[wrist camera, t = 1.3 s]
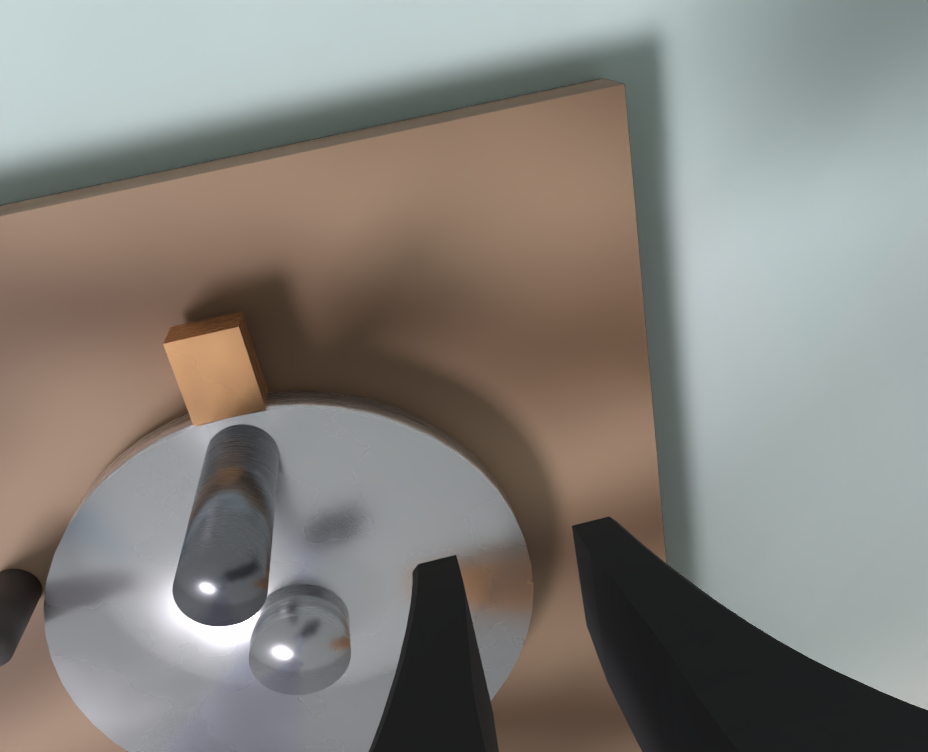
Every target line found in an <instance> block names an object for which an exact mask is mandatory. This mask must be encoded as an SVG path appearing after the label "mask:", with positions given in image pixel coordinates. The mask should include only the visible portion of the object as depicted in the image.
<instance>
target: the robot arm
mask: <svg viewBox="0 0 928 752" xmlns="http://www.w3.org/2000/svg"><path fill="white" fill-rule="evenodd" d="M572 531H573V538H574V545H575V552H576V558H577V565H578V572H579V579H580V585H581V592H582V599H583V606H584V612H585V619H586V625H587V628H588V631H589V633H590V636H591V639H592V642H593V644H594V647H595V650H596V653H597V656H598V658H599V661H600V664H601V666H602V669H603V672H604V674H605V677H606V680H607V682H608V684H609V686H610V688H611V691H612V693H613V695H614V697H615V699H616V701H617V703H618V705H619V707H620V709H621V711H622V713H623V715H624V717H625V719H626V721H627V723H628V725H629V727H630V729H631V731H632V733H633V735H634V737H635V739H636V741H637V743H638V745H639V747H640V748H641V750H642V752H928V710H925V709H922V708H920V707H917V706H914V705H912V704H909V703H907V702H904V701H902V700H899V699H897V698H895V697H892V696H890V695H887V694H885V693H883V692H880V691H878V690H876V689H874V688H872V687H869V686H867V685H865V684H863V683H861V682H858V681H856V680H854V679H852V678H850V677H847V676H845V675H843V674H841V673H839V672H836V671H834V670H832V669H830V668H828V667H826V666H824V665H822V664H820V663H818V662H816V661H814V660H812V659H810V658H808V657H807V656H805V655H803V654H801V653H799V652H797V651H796V650H794V649H792V648H790V647H788V646H787V645H785V644H783V643H781V642H780V641H778V640H776V639H775V638H773V637H771V636H769V635H768V634H766V633H765V632H763V631H761V630H760V629H758V628H756V627H755V626H753V625H752V624H750V623H749V622H747V621H746V620H744V619H743V618H741V617H739V616H738V615H736V614H735V613H733V612H732V611H730V610H729V609H727V608H726V607H724V606H723V605H722V604H720V603H719V602H717V601H716V600H714V599H713V598H712V597H710V596H709V595H707V594H706V593H705V592H703V591H702V590H701V589H699V588H698V587H697V586H695V585H694V584H692V583H691V582H690V581H688V580H687V579H686V578H684V577H683V576H682V575H680V574H679V573H678V572H676V571H675V570H674V569H673V568H671V567H670V566H669V565H668V564H666V563H665V562H664V561H663V560H661V559H660V558H659V557H658V556H657V555H655V554H654V553H653V552H652V551H650V550H649V549H648V548H647V547H646V546H644V545H643V544H642V543H641V542H640V541H639V540H637V539H636V538H635V537H634V536H633V535H632V534H631V533H629V532H628V531H627V530H626V529H625V528H624V527H623V526H621V525H620V524H619V523H618V522H617V521H616V520H614V519H612V518H611V517H605V518H601V519H597V520H593V521H589V522H585V523H581V524H577V525H573V526H572ZM412 578H413V582H412V595H411V603H410V610H409V616H408V621H407V627H406V632H405V636H404V640H403V644H402V648H401V653H400V657H399V661H398V665H397V669H396V673H395V676H394V679H393V682H392V686H391V689H390V692H389V695H388V698H387V702H386V705H385V708H384V711H383V714H382V717H381V720H380V723H379V726H378V728H377V731H376V734H375V737H374V739H373V742H372V744H371V747H370V749H369V752H499V749H498V742H497V735H496V728H495V722H494V715H493V710H492V705H491V701H490V696H489V692H488V688H487V683H486V679H485V675H484V670H483V666H482V661H481V657H480V653H479V648H478V644H477V639H476V635H475V631H474V626H473V622H472V618H471V613H470V609H469V604H468V600H467V596H466V591H465V587H464V583H463V579H462V575H461V571H460V567H459V563H458V560H457V556H456V555H453V556H449V557H445V558H441V559H437V560H433V561H429V562H425V563H421V564H418V565H417V566H416V568H415V569H414V570H413V572H412Z"/></svg>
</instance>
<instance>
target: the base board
mask: <svg viewBox="0 0 928 752" xmlns="http://www.w3.org/2000/svg"><path fill="white" fill-rule="evenodd" d="M239 311H243V313H244V316H245V319H246V322H247V325H248V328H249V332H250V335H251V338H252V341H253V344H254V347H255V350H256V353H257V357H258V360H259V363H260V366H261V369H262V372H263V375H264V378H265V382H266V385H267V388H268V392H279V391H298V390H306V391H322V392H337V393H342V394H348V395H353V396H359V397H364V398H369V399H373V400H376V401H379V402H382V403H385V404H389V405H392V406H395V407H398V408H401V409H403V410H405V411H407V412H410V413H412V414H414V415H416V416H418V417H421V418H423V419H425V420H427V421H429V422H431V423H432V424H434V425H435V426H437V427H439V428H440V429H442V430H443V431H445V432H447V433H448V434H450V435H451V436H453V437H454V438H455V439H456V440H458V441H459V442H460V443H461V444H462V445H464V446H465V447H466V448H467V449H468V450H470V451H471V452H472V453H473V454H474V455H475V456H476V457H477V458H478V459H479V460H480V461H481V462H482V464H483V465H484V466H485V467H486V468H487V469H488V470H489V471H490V472H491V474H492V475H493V476H494V478H495V479H496V481H497V482H498V484H499V486H500V487H501V489H502V490H503V492H504V493H505V495H506V496H507V499H508V501H509V503H510V505H511V508H512V510H513V512H514V514H515V516H516V519H517V521H518V524H519V527H520V529H521V532H522V534H523V537H524V540H525V543H526V546H527V550H528V554H529V558H530V561H531V566H532V577H533V587H534V591H533V607H532V615H531V620H530V624H529V629H528V633H527V637H526V639H525V642H524V645H523V647H522V650H521V652H520V655H519V658H518V660H517V661H516V663H515V665H514V667H513V669H512V670H511V672H510V674H509V676H508V678H507V680H506V681H505V682H504V684H503V685H502V686H501V688H500V689H499V690H498V692H497V693H496V694H495V696H494V697H493V699H492V700H491V705H492V710H493V715H494V722H495V728H496V735H497V742H498V749H499V752H642V750H641V748H640V747H639V745H638V743H637V741H636V739H635V737H634V735H633V733H632V731H631V729H630V727H629V725H628V723H627V721H626V719H625V717H624V715H623V713H622V711H621V709H620V707H619V705H618V703H617V701H616V699H615V697H614V695H613V693H612V691H611V688H610V686H609V684H608V682H607V680H606V677H605V674H604V672H603V669H602V666H601V664H600V661H599V658H598V656H597V653H596V650H595V647H594V644H593V642H592V639H591V636H590V633H589V631H588V628H587V625H586V619H585V612H584V606H583V599H582V592H581V585H580V579H579V572H578V565H577V558H576V552H575V545H574V538H573V531H572V526H573V525H577V524H581V523H585V522H589V521H593V520H597V519H601V518H605V517H611V518H612V519H614V520H616V521H617V522H618V523H619V524H620V525H621V526H623V527H624V528H625V529H626V530H627V531H628V532H629V533H631V534H632V535H633V536H634V537H635V538H636V539H637V540H639V541H640V542H641V543H642V544H643V545H644V546H646V547H647V548H648V549H649V550H650V551H652V552H653V553H654V554H655V555H657V556H658V557H659V558H660V559H661V560H663V561H664V562H665V563H666V553H665V542H664V530H663V519H662V508H661V496H660V485H659V473H658V462H657V450H656V439H655V428H654V416H653V405H652V393H651V382H650V371H649V359H648V348H647V336H646V325H645V313H644V302H643V291H642V279H641V268H640V256H639V245H638V233H637V222H636V211H635V199H634V188H633V176H632V165H631V154H630V142H629V131H628V119H627V108H626V96H625V85H624V84H622V83H618V82H614V81H611V80H607V79H603V78H602V79H598V80H593V81H588V82H583V83H579V84H574V85H569V86H564V87H560V88H555V89H550V90H545V91H541V92H536V93H531V94H527V95H522V96H517V97H512V98H508V99H503V100H498V101H493V102H489V103H484V104H479V105H474V106H470V107H465V108H460V109H455V110H451V111H446V112H441V113H437V114H432V115H427V116H422V117H418V118H413V119H408V120H403V121H399V122H394V123H389V124H384V125H380V126H375V127H370V128H365V129H361V130H356V131H351V132H347V133H342V134H337V135H332V136H328V137H323V138H318V139H313V140H309V141H304V142H299V143H294V144H290V145H285V146H280V147H275V148H271V149H266V150H261V151H257V152H252V153H247V154H242V155H238V156H233V157H228V158H223V159H219V160H214V161H209V162H204V163H200V164H195V165H190V166H185V167H181V168H176V169H171V170H167V171H162V172H157V173H152V174H148V175H143V176H138V177H133V178H129V179H124V180H119V181H114V182H110V183H105V184H100V185H95V186H91V187H86V188H81V189H77V190H72V191H67V192H62V193H58V194H53V195H48V196H43V197H39V198H34V199H29V200H24V201H20V202H15V203H10V204H5V205H1V206H0V752H128V751H126V750H125V749H123V748H122V747H120V746H119V745H117V744H116V743H114V742H113V741H112V740H111V739H110V738H108V737H107V736H106V735H105V734H104V733H103V732H101V731H100V730H99V729H98V728H97V727H96V726H94V725H93V724H92V722H91V721H90V720H89V719H88V718H87V717H86V716H85V715H84V713H83V712H82V711H81V710H80V709H79V708H78V707H77V706H76V704H75V703H74V701H73V699H72V698H71V696H70V695H69V693H68V692H67V690H66V689H65V687H64V686H63V684H62V682H61V680H60V678H59V675H58V673H57V671H56V669H55V666H54V664H53V662H52V659H51V655H50V651H49V647H48V643H47V639H46V635H45V624H44V609H43V607H44V598H45V589H46V581H47V577H48V574H49V570H50V567H51V563H52V560H53V557H54V554H55V552H56V549H57V547H58V545H59V543H60V541H61V539H62V537H63V535H64V533H65V531H66V529H67V527H68V525H69V522H70V520H71V518H72V516H73V514H74V512H75V510H76V508H77V506H78V504H79V503H80V501H81V500H82V498H83V497H84V495H85V494H86V493H87V491H88V490H89V488H90V487H91V485H92V484H93V483H94V481H95V480H96V479H97V478H98V477H99V476H100V474H101V473H102V472H103V471H104V470H105V469H106V468H107V467H108V466H109V465H110V464H111V463H112V462H113V461H114V460H115V459H116V458H117V457H118V456H119V455H121V454H122V453H123V452H124V451H126V450H127V449H128V448H129V447H131V446H132V445H133V444H135V443H136V442H137V441H138V440H140V439H141V438H142V437H144V436H146V435H147V434H149V433H151V432H152V431H154V430H156V429H157V428H159V427H161V426H163V425H164V424H166V423H168V422H169V421H171V420H174V419H176V418H178V417H181V416H183V415H185V414H187V413H189V412H188V410H187V407H186V404H185V402H184V399H183V396H182V394H181V391H180V388H179V386H178V383H177V380H176V377H175V375H174V372H173V369H172V367H171V364H170V361H169V359H168V356H167V353H166V351H165V348H164V345H163V343H164V341H165V338H166V336H167V334H168V332H169V330H170V327H173V326H177V325H182V324H186V323H190V322H195V321H199V320H204V319H208V318H213V317H217V316H222V315H226V314H231V313H235V312H239Z"/></svg>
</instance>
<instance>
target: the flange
mask: <svg viewBox="0 0 928 752" xmlns="http://www.w3.org/2000/svg"><path fill="white" fill-rule="evenodd" d="M163 345H164V348H165V351H166V353H167V356H168V359H169V361H170V364H171V367H172V369H173V372H174V375H175V377H176V380H177V383H178V386H179V388H180V391H181V394H182V396H183V399H184V402H185V404H186V407H187V410H188V412H189V413H187V414H185V415H183V416H181V417H178V418H176V419H174V420H171V421H169V422H168V423H166V424H164V425H163V426H161V427H159V428H157V429H156V430H154V431H152V432H151V433H149V434H147V435H146V436H144V437H142V438H141V439H140V440H138V441H137V442H136V443H135V444H133V445H132V446H131V447H129V448H128V449H127V450H126V451H124V452H123V453H122V454H121V455H119V456H118V457H117V458H116V459H115V460H114V461H113V462H112V463H111V464H110V465H109V466H108V467H107V468H106V469H105V470H104V471H103V472H102V473H101V474H100V476H99V477H98V478H97V479H96V480H95V481H94V483H93V484H92V485H91V487H90V488H89V490H88V491H87V493H86V494H85V495H84V497H83V498H82V500H81V501H80V503H79V504H78V506H77V508H76V510H75V512H74V514H73V516H72V518H71V520H70V522H69V525H68V527H67V529H66V531H65V533H64V535H63V537H62V539H61V541H60V543H59V545H58V547H57V549H56V552H55V554H54V557H53V560H52V563H51V567H50V570H49V574H48V577H47V581H46V589H45V598H44V607H43V609H44V624H45V635H46V639H47V643H48V647H49V651H50V655H51V659H52V662H53V664H54V666H55V669H56V671H57V673H58V675H59V678H60V680H61V682H62V684H63V686H64V687H65V689H66V690H67V692H68V693H69V695H70V696H71V698H72V699H73V701H74V703H75V704H76V706H77V707H78V708H79V709H80V710H81V711H82V712H83V713H84V715H85V716H86V717H87V718H88V719H89V720H90V721H91V722H92V724H93V725H94V726H96V727H97V728H98V729H99V730H100V731H101V732H103V733H104V734H105V735H106V736H107V737H108V738H110V739H111V740H112V741H113V742H114V743H116V744H117V745H119V746H120V747H122V748H123V749H125V750H126V751H128V752H369V749H370V747H371V744H372V742H373V739H374V737H375V734H376V731H377V728H378V726H379V723H380V720H381V717H382V714H383V711H384V708H385V705H386V702H387V698H388V695H389V692H390V689H391V686H392V682H393V679H394V676H395V673H396V669H397V665H398V661H399V657H400V653H401V648H402V644H403V640H404V636H405V632H406V627H407V621H408V616H409V610H410V603H411V595H412V582H413V578H412V572H413V570H414V569H415V568H416V566H417V565H418V564H421V563H425V562H429V561H433V560H437V559H441V558H445V557H449V556H453V555H456V556H457V560H458V563H459V567H460V571H461V575H462V579H463V583H464V587H465V591H466V596H467V600H468V604H469V609H470V613H471V618H472V622H473V626H474V631H475V635H476V639H477V644H478V648H479V653H480V657H481V661H482V666H483V670H484V675H485V679H486V683H487V688H488V692H489V696H490V701H491V700H492V699H493V697H494V696H495V694H496V693H497V692H498V690H499V689H500V688H501V686H502V685H503V684H504V682H505V681H506V680H507V678H508V676H509V674H510V672H511V670H512V669H513V667H514V665H515V663H516V661H517V660H518V658H519V655H520V652H521V650H522V647H523V645H524V642H525V639H526V637H527V633H528V629H529V624H530V620H531V615H532V607H533V591H534V587H533V577H532V566H531V561H530V558H529V554H528V550H527V546H526V543H525V540H524V537H523V534H522V532H521V529H520V527H519V524H518V521H517V519H516V516H515V514H514V512H513V510H512V508H511V505H510V503H509V501H508V499H507V496H506V495H505V493H504V492H503V490H502V489H501V487H500V486H499V484H498V482H497V481H496V479H495V478H494V476H493V475H492V474H491V472H490V471H489V470H488V469H487V468H486V467H485V466H484V465H483V464H482V462H481V461H480V460H479V459H478V458H477V457H476V456H475V455H474V454H473V453H472V452H471V451H470V450H468V449H467V448H466V447H465V446H464V445H462V444H461V443H460V442H459V441H458V440H456V439H455V438H454V437H453V436H451V435H450V434H448V433H447V432H445V431H443V430H442V429H440V428H439V427H437V426H435V425H434V424H432V423H431V422H429V421H427V420H425V419H423V418H421V417H418V416H416V415H414V414H412V413H410V412H407V411H405V410H403V409H401V408H398V407H395V406H392V405H389V404H385V403H382V402H379V401H376V400H373V399H369V398H364V397H359V396H353V395H348V394H342V393H337V392H322V391H306V390H298V391H279V392H268V388H267V385H266V382H265V378H264V375H263V372H262V369H261V366H260V363H259V360H258V357H257V353H256V350H255V347H254V344H253V341H252V338H251V335H250V332H249V328H248V325H247V322H246V319H245V316H244V313H243V311H239V312H235V313H231V314H226V315H222V316H217V317H213V318H208V319H204V320H199V321H195V322H190V323H186V324H182V325H177V326H173V327H170V330H169V332H168V334H167V336H166V338H165V341H164V343H163Z"/></svg>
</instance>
